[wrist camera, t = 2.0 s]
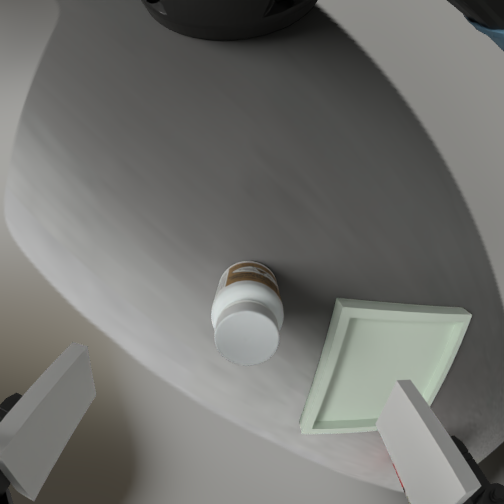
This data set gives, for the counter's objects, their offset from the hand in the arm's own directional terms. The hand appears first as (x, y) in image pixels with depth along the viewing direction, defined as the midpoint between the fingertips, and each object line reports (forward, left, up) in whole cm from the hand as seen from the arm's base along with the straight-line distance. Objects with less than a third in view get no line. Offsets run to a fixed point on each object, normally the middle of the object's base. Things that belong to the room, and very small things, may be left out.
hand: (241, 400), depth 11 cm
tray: (+7, +14, -12) cm, 20 cm away
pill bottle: (0, 0, -12) cm, 12 cm away
